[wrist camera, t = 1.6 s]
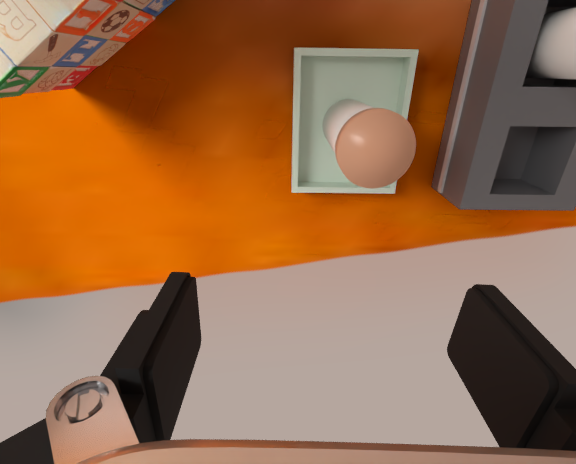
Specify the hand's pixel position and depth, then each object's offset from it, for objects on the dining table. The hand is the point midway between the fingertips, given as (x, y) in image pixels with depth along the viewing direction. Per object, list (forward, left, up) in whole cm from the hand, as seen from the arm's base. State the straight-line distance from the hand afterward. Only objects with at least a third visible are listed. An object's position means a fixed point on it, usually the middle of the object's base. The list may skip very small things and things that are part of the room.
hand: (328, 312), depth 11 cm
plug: (-3, +4, -20) cm, 20 cm away
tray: (-4, +4, -20) cm, 21 cm away
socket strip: (-6, +17, -20) cm, 27 cm away
